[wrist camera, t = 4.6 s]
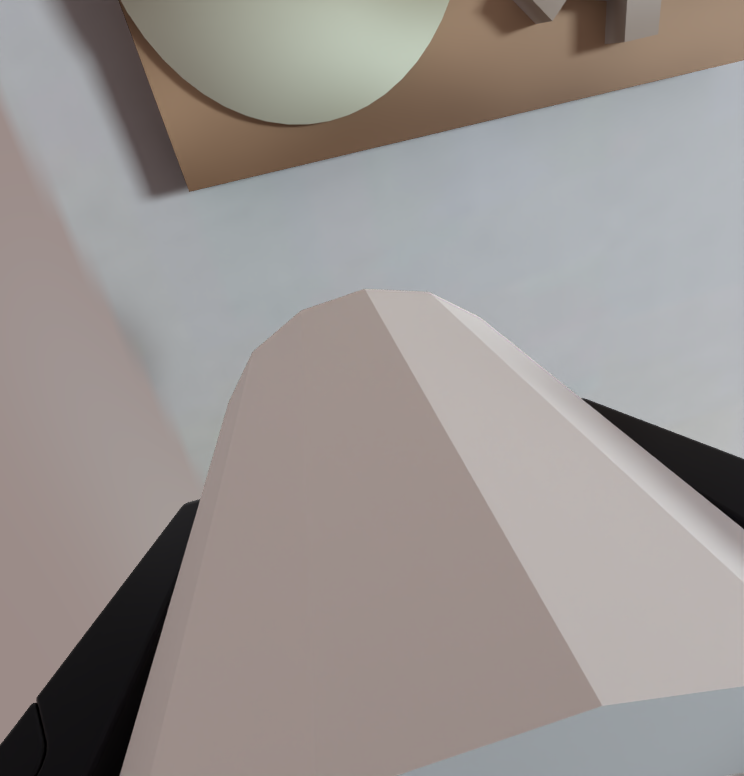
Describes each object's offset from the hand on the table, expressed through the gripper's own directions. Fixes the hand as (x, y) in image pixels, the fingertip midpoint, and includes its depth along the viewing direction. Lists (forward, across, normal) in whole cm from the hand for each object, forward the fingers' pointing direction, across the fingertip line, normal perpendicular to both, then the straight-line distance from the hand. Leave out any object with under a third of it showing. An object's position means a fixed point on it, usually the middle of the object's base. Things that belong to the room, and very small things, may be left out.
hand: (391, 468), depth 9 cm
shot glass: (+1, 0, 0) cm, 1 cm away
